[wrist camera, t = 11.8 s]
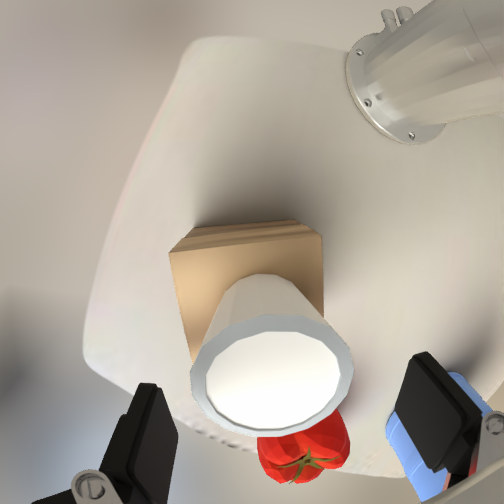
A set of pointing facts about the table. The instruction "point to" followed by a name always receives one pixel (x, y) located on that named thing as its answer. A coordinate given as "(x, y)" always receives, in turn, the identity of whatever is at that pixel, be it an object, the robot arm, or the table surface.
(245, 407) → the white cup
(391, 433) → the water jug
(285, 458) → the tomato
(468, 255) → the table surface
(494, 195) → the table surface
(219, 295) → the tower top block
